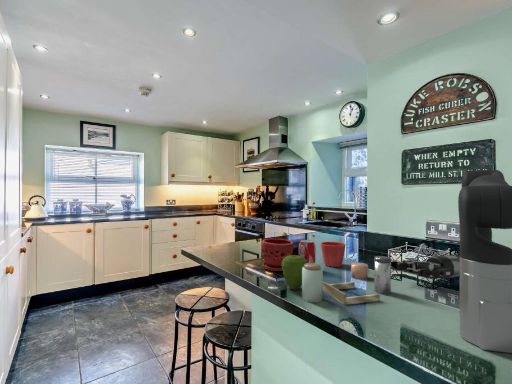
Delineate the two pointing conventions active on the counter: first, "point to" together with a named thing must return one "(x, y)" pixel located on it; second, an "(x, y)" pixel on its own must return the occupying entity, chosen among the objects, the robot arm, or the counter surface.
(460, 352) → the counter surface
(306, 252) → the soda can
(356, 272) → the terracotta tin
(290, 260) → the green bell pepper
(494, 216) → the robot arm
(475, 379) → the counter surface
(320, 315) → the counter surface
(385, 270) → the steel canister
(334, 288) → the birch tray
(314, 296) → the sage jar
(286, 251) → the plant pot
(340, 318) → the counter surface
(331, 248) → the flower pot
